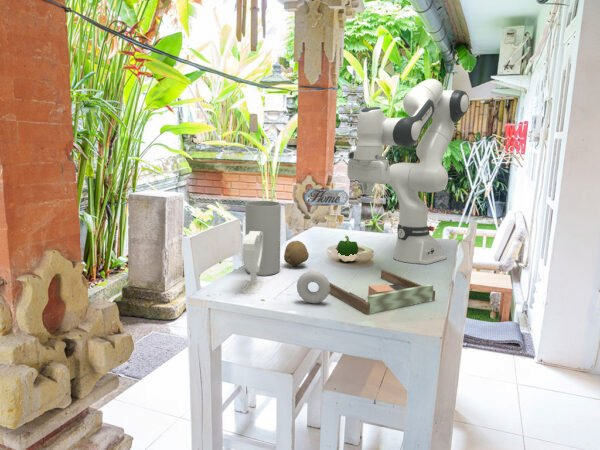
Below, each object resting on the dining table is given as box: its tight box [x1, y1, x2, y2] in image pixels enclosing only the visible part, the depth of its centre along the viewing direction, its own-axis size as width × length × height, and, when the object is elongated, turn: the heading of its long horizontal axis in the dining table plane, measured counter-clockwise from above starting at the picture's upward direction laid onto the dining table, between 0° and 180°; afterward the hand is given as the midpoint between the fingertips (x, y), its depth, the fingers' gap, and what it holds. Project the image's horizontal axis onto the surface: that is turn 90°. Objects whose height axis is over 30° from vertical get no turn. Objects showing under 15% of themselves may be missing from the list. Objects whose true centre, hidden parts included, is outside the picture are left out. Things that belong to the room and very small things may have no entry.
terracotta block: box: [367, 283, 395, 297], centre depth 141 cm, size 6×6×4 cm
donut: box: [296, 270, 330, 304], centre depth 137 cm, size 10×3×10 cm, turn 81°
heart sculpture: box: [241, 231, 265, 295], centre depth 149 cm, size 16×5×18 cm, turn 174°
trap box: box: [328, 269, 436, 315], centre depth 146 cm, size 26×25×5 cm
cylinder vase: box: [244, 200, 282, 277], centre depth 166 cm, size 12×12×25 cm
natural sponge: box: [283, 240, 310, 267], centre depth 174 cm, size 9×9×10 cm
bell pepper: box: [336, 235, 359, 256], centre depth 183 cm, size 8×8×10 cm
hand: (367, 194), depth 163 cm, fingers closed
